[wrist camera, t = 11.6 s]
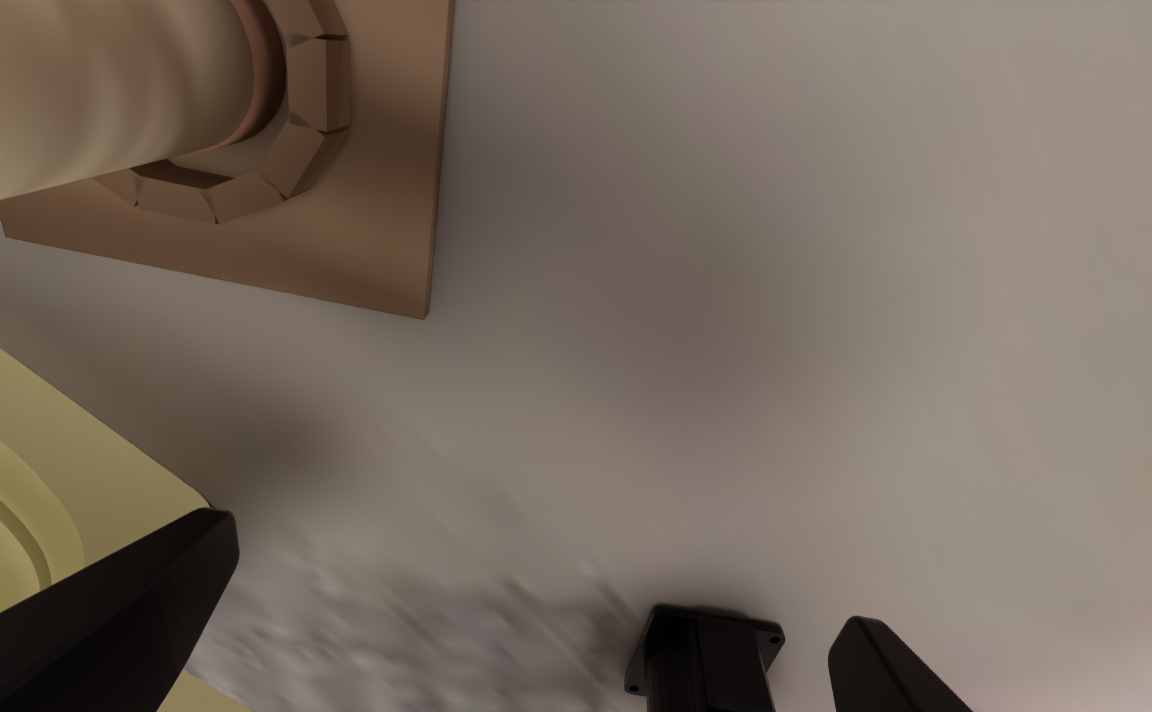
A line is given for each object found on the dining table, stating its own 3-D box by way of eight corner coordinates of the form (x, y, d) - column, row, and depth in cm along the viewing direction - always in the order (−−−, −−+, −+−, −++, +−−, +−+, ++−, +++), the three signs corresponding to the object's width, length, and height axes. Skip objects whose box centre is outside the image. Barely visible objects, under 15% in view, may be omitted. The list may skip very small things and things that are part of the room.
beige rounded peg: (290, 160, 17) (75, 236, 10) (118, 124, 17) (-225, 177, 10) (282, -38, 15) (-8, -119, 8) (82, -85, 15) (-408, -212, 7)
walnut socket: (428, 313, 20) (410, 340, 18) (21, 232, 19) (-44, 252, 17) (471, -211, 14) (449, -254, 12) (-145, -367, 13) (-280, -442, 11)
